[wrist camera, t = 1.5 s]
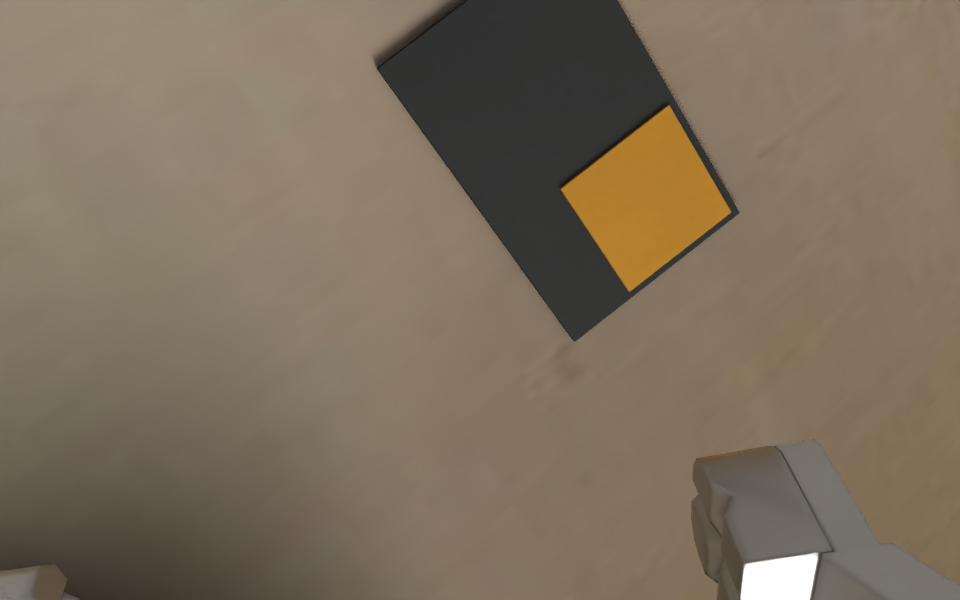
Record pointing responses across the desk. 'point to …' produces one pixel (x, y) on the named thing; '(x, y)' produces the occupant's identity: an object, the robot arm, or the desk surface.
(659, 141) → the desk mat
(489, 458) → the desk surface
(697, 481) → the robot arm
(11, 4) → the desk surface
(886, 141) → the desk surface
